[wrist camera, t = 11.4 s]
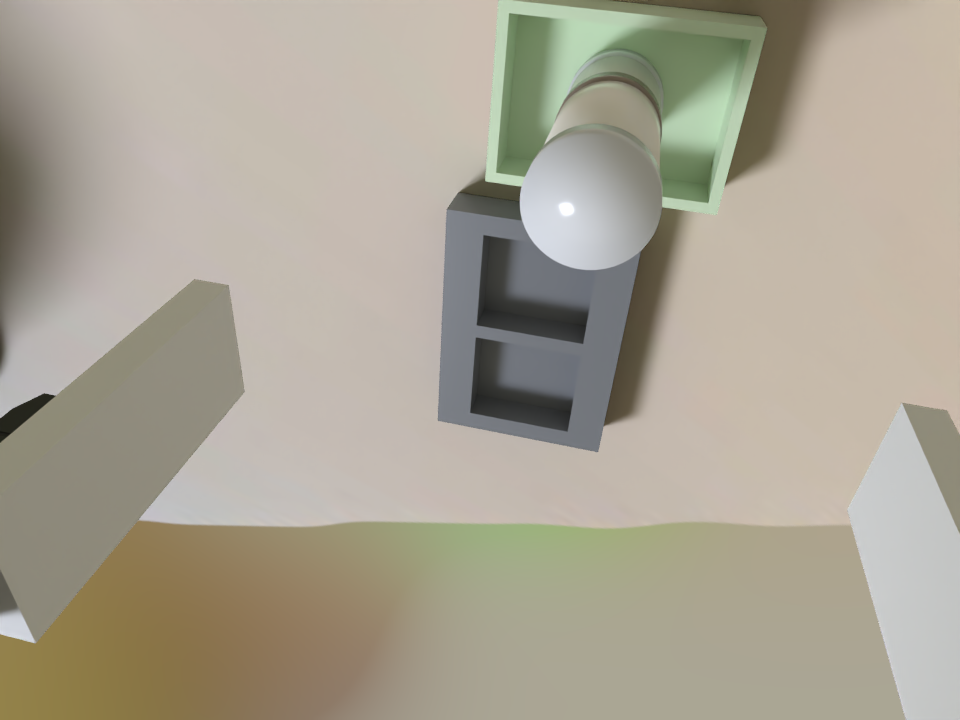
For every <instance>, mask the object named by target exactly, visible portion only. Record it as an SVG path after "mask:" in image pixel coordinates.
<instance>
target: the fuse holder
mask: <svg viewBox="0 0 960 720" xmlns="http://www.w3.org/2000/svg"><path fill="white" fill-rule="evenodd" d="M640 253H641V251H640V252H639V253H638V254H636V255H635V256H634V257H632V258H631V259H629V260H627V261H625V262H624V263H622V264H619V265H616V266H614V267H610V268H606V269H600V270H582V269H576V268H571V267H568V266H565V265H563V264H560V263H558V262H556V261H554V260H553V259H551V258H550V257H548V256H547V255H546V254H544V253H543V252H542V251H541V250H540V249H539V248H538V247H537V246H536V245H535V244H534V242H533V241H532V240H531V238H530V237H529V235H528V233H527V231H526V229H525V227H524V224H523V221H522V217H521V213H520V202H517V201H511V200H504V199H497V198H491V197H484V196H477V195H470V194H464V193H458V194H457V195H456V197H455V198H454V200H453V201H452V202H451V204H450V205H449V207H448V208H447V217H446V240H445V264H444V287H443V311H442V334H441V358H440V381H439V405H438V421H442V422H448V423H453V424H458V425H463V426H468V427H473V428H478V429H483V430H488V431H493V432H498V433H503V434H508V435H514V436H519V437H524V438H529V439H534V440H539V441H544V442H549V443H554V444H559V445H564V446H569V447H575V448H580V449H585V450H590V451H595V452H598V450H599V445H600V441H601V436H602V431H603V426H604V422H605V417H606V412H607V408H608V403H609V398H610V394H611V389H612V384H613V380H614V375H615V370H616V366H617V361H618V356H619V352H620V347H621V342H622V338H623V333H624V328H625V324H626V319H627V314H628V309H629V305H630V300H631V295H632V291H633V286H634V281H635V277H636V272H637V267H638V263H639V258H640Z"/></svg>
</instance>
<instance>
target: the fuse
mask: <svg viewBox="0 0 960 720" xmlns="http://www.w3.org/2000/svg"><path fill="white" fill-rule="evenodd" d="M663 100H664V91H663V84H662V80H661V78H660V75H659V73H658V71H657V69H656V68H655V67H654V65H653V64H652V63H651V62H650V61H649V60H648V59H647V58H646V57H644V56H643V55H641V54H639V53H637V52H635V51H632V50H628V49H609V50H605V51H602V52H600V53H598V54H596V55H594V56H592V57H591V58H589V59H588V60H587V61H586V62H585V63H584V64H583V65H582V66H581V67H580V68H579V69H578V71H577V73H576V74H575V76H574V78H573V80H572V82H571V84H570V86H569V89H568V92H567V96H566V98H565V99H564V101H563V103H562V105H561V107H560V109H559V111H558V114H557V116H556V119H555V123H554V125H553V127H552V129H551V131H550V133H549V135H548V137H547V139H546V142H545V144H544V146H543V147H542V148H541V149H540V150H539V152H538V153H537V155H536V156H535V158H534V159H533V161H532V164H531V166H530V168H529V170H528V172H527V174H526V176H525V178H524V181H523V184H522V187H521V193H520V213H521V217H522V221H523V224H524V227H525V229H526V231H527V233H528V235H529V237H530V238H531V240H532V241H533V242H534V244H535V245H536V246H537V247H538V248H539V249H540V250H541V251H542V252H543V253H544V254H546V255H547V256H548V257H550V258H551V259H553V260H554V261H556V262H558V263H560V264H563V265H565V266H568V267H571V268H576V269H582V270H600V269H606V268H610V267H614V266H616V265H619V264H622V263H624V262H625V261H627V260H629V259H631V258H632V257H634V256H635V255H636V254H638V253H639V252H640V251H641V250H642V249H643V248H644V247H645V246H646V245H647V243H648V242H649V241H650V240H651V238H652V236H653V235H654V233H655V231H656V229H657V227H658V224H659V221H660V217H661V212H662V177H661V173H660V144H661V138H662V111H663Z"/></svg>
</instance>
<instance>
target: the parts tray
mask: <svg viewBox="0 0 960 720" xmlns="http://www.w3.org/2000/svg"><path fill="white" fill-rule="evenodd" d="M766 31H767V27H766V25H765V23H764V22H763V20H762V19H761V17H760V16H752V15H743V14H734V13H724V12H715V11H705V10H696V9H686V8H677V7H668V6H658V5H649V4H639V3H630V2H621V1H611V0H498V13H497V26H496V40H495V54H494V67H493V81H492V95H491V108H490V122H489V136H488V149H487V163H486V177H485V181H486V182H493V183H500V184H507V185H514V186H521V187H522V184H523V181H524V178H525V176H526V174H527V172H528V170H529V168H530V166H531V164H532V161H533V159H534V158H535V156H536V155H537V153H538V152H539V150H540V149H541V148H542V147H543V146H544V144H545V142H546V139H547V137H548V135H549V133H550V131H551V129H552V127H553V125H554V123H555V119H556V116H557V114H558V111H559V109H560V107H561V105H562V103H563V101H564V99H565V98H566V96H567V92H568V89H569V86H570V84H571V82H572V80H573V78H574V76H575V74H576V73H577V71H578V69H579V68H580V67H581V66H582V65H583V64H584V63H585V62H586V61H587V60H588V59H589V58H591V57H592V56H594V55H596V54H598V53H600V52H602V51H605V50H609V49H628V50H632V51H635V52H637V53H639V54H641V55H643V56H644V57H646V58H647V59H648V60H649V61H650V62H651V63H652V64H653V65H654V67H655V68H656V69H657V71H658V73H659V75H660V78H661V80H662V84H663V91H664V100H663V111H662V138H661V144H660V173H661V177H662V207H665V208H671V209H678V210H685V211H692V212H699V213H706V214H713V215H717V212H718V208H719V205H720V201H721V197H722V194H723V190H724V186H725V183H726V179H727V175H728V171H729V168H730V164H731V160H732V157H733V153H734V149H735V146H736V142H737V138H738V135H739V131H740V127H741V124H742V120H743V116H744V113H745V109H746V105H747V101H748V98H749V94H750V90H751V87H752V83H753V79H754V76H755V72H756V68H757V65H758V61H759V57H760V54H761V50H762V46H763V42H764V39H765V35H766Z"/></svg>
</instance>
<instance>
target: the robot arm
mask: <svg viewBox="0 0 960 720" xmlns="http://www.w3.org/2000/svg"><path fill="white" fill-rule="evenodd" d="M244 392H245V391H244V384H243V377H242V371H241V364H240V357H239V351H238V344H237V338H236V331H235V324H234V318H233V311H232V304H231V298H230V291H229V285H224V284H218V283H213V282H207V281H201V280H196V279H194V280H193V281H192V282H191V283H190V284H188V285H187V286H186V287H185V288H184V289H182V290H181V291H180V292H179V293H178V294H176V295H175V296H174V297H173V298H172V299H171V300H169V301H168V302H167V303H166V304H165V305H163V306H162V307H161V308H160V309H159V310H157V311H156V312H155V313H154V314H153V315H152V316H150V317H149V318H148V319H147V320H146V321H144V322H143V323H142V324H141V325H140V326H138V327H137V328H136V329H135V330H134V331H133V332H131V333H130V334H129V335H128V336H127V337H125V338H124V339H123V340H122V341H121V342H119V343H118V344H117V345H116V346H115V347H114V348H112V349H111V350H110V351H109V352H108V353H106V354H105V355H104V356H103V357H102V358H100V359H99V360H98V361H97V362H96V363H95V364H93V365H92V366H91V367H90V368H89V369H87V370H86V371H85V372H84V373H83V374H81V375H80V376H79V377H78V378H77V379H76V380H74V381H73V382H72V383H71V384H70V385H68V386H67V387H66V388H65V389H64V390H62V391H61V392H60V393H59V394H58V395H57V396H54V395H49V394H45V393H44V394H42V395H40V396H38V397H36V398H34V399H32V400H30V401H28V402H26V403H23V404H21V405H19V406H17V407H15V408H13V409H12V410H10V411H9V412H8V413H7V414H5V415H4V416H3V417H2V418H0V634H2V635H6V636H10V637H14V638H18V639H21V640H25V641H29V642H33V643H36V642H37V641H38V640H39V639H40V638H41V636H42V635H43V634H44V633H45V632H46V630H47V629H48V628H49V627H50V625H51V624H52V623H53V622H54V621H55V619H56V618H57V617H58V616H59V615H60V614H61V612H62V611H63V610H64V609H65V608H66V606H67V605H68V604H69V603H70V601H71V600H72V599H73V598H74V597H75V595H76V594H77V593H78V592H79V591H80V589H81V588H82V587H83V586H84V585H85V583H86V582H87V581H88V580H89V579H90V577H91V576H92V575H93V574H94V573H95V571H96V570H97V569H98V568H99V566H100V565H101V564H102V563H103V562H104V561H105V559H106V558H107V557H108V556H109V555H110V553H111V552H112V551H113V550H114V548H115V547H116V546H117V545H118V544H119V542H120V541H121V540H122V539H123V538H124V536H125V535H126V534H127V533H128V532H129V530H130V529H131V528H132V527H133V526H134V524H135V523H136V522H137V521H138V520H139V518H140V517H141V516H142V515H143V514H144V512H145V511H146V510H147V509H148V508H149V506H150V505H151V504H152V503H153V501H154V500H155V499H156V498H157V497H158V495H159V494H160V493H161V492H162V491H163V489H164V488H165V487H166V486H167V485H168V483H169V482H170V481H171V480H172V479H173V477H174V476H175V475H176V474H177V473H178V471H179V470H180V469H181V468H182V467H183V465H184V464H185V463H186V462H187V461H188V459H189V458H190V457H191V456H192V455H193V453H194V452H195V451H196V450H197V448H198V447H199V446H200V445H201V444H202V442H203V441H204V440H205V439H206V438H207V436H208V435H209V434H210V433H211V432H212V430H213V429H214V428H215V427H216V426H217V424H218V423H219V422H220V421H221V420H222V418H223V417H224V416H225V415H226V414H227V412H228V411H229V410H230V409H231V408H232V406H233V405H234V404H235V403H236V401H237V400H238V399H239V398H240V397H241V395H242V394H243V393H244ZM847 511H848V515H849V518H850V522H851V525H852V529H853V532H854V536H855V540H856V543H857V547H858V550H859V554H860V558H861V561H862V564H863V568H864V572H865V575H866V579H867V583H868V586H869V590H870V593H871V597H872V601H873V604H874V608H875V611H876V615H877V618H878V622H879V625H880V629H881V633H882V636H883V640H884V643H885V647H886V650H887V654H888V658H889V661H890V665H891V669H892V672H893V676H894V679H895V682H896V686H897V690H898V694H899V697H900V701H901V704H902V708H903V712H904V715H905V718H906V720H960V435H959V433H958V431H957V429H956V427H955V425H954V423H953V421H952V419H951V417H950V415H949V414H948V412H947V411H946V410H940V409H934V408H929V407H923V406H917V405H911V404H906V403H901V405H900V407H899V409H898V411H897V413H896V415H895V417H894V419H893V421H892V423H891V425H890V427H889V429H888V431H887V433H886V435H885V437H884V439H883V441H882V443H881V445H880V447H879V449H878V451H877V453H876V455H875V456H874V458H873V460H872V462H871V464H870V466H869V468H868V470H867V472H866V474H865V476H864V478H863V480H862V482H861V484H860V486H859V488H858V490H857V492H856V494H855V496H854V498H853V500H852V502H851V504H850V506H849V508H848V510H847Z"/></svg>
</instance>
